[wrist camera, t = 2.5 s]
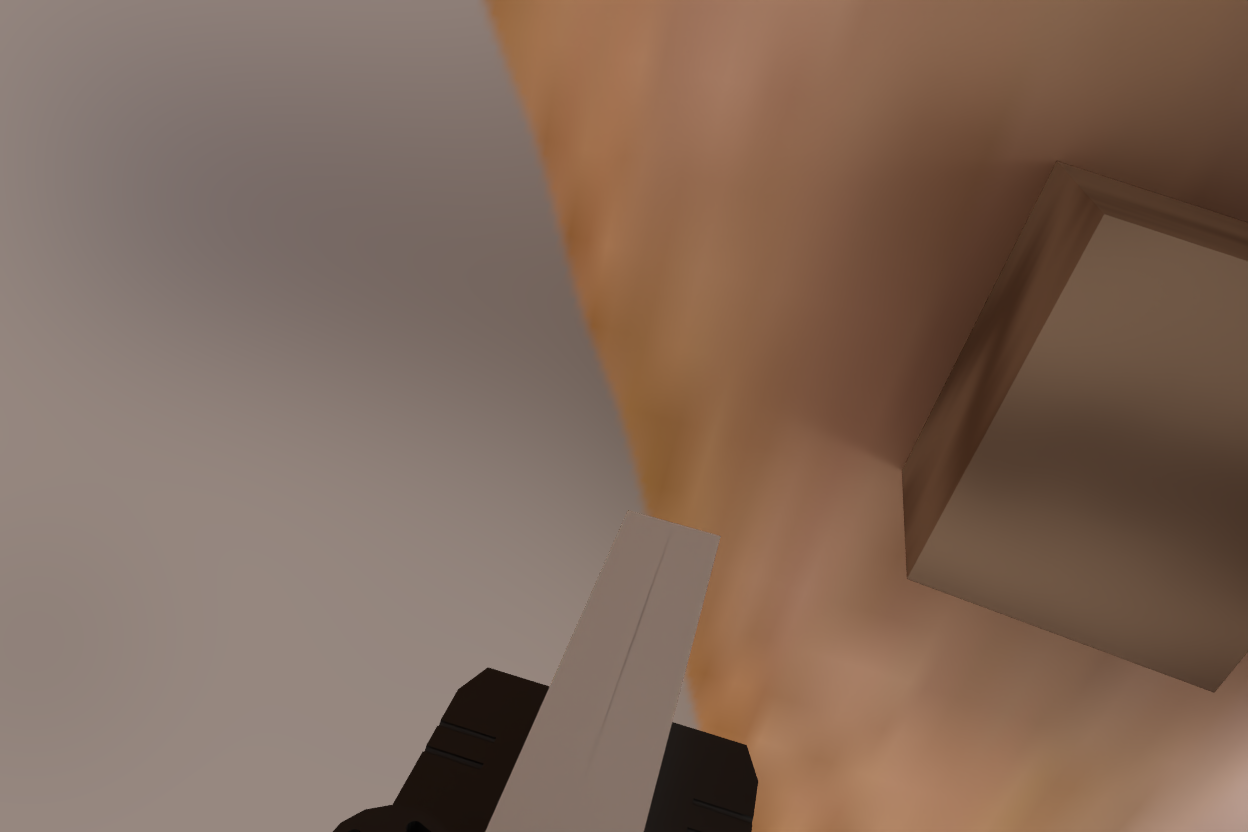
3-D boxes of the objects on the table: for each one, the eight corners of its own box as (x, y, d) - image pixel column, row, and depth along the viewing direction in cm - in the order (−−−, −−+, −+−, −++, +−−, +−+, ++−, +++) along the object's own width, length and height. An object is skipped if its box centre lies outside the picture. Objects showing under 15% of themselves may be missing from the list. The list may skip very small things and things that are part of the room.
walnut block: (1055, 159, 24) (1104, 214, 19) (1362, 259, 24) (1499, 343, 18) (901, 467, 29) (907, 578, 24) (1152, 557, 28) (1214, 692, 23)
